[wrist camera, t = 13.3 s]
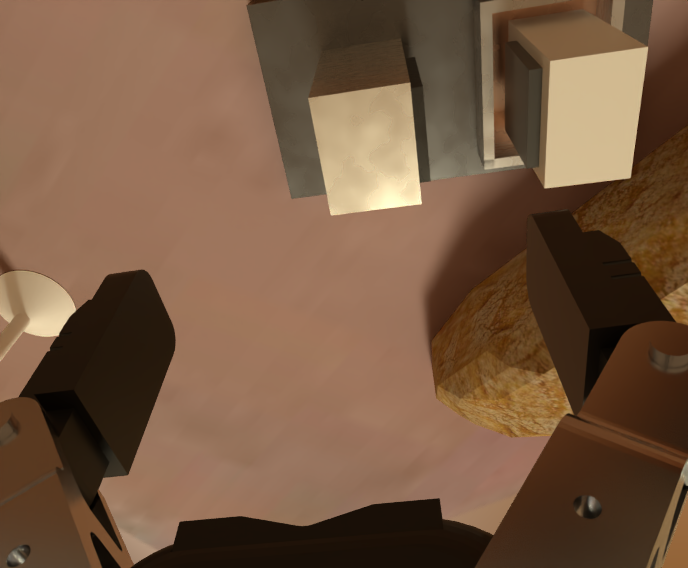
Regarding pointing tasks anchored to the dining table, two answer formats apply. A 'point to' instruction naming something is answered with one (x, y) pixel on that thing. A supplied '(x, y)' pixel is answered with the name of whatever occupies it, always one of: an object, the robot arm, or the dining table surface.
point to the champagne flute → (31, 307)
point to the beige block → (573, 97)
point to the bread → (518, 318)
